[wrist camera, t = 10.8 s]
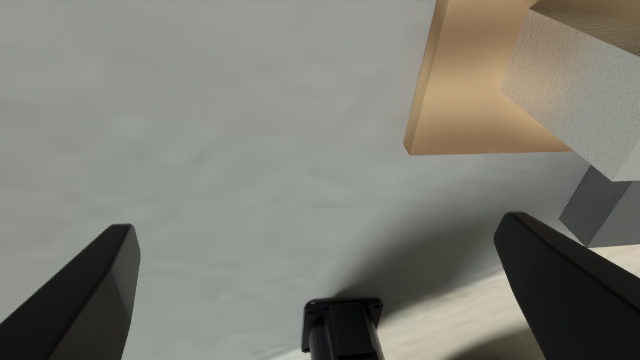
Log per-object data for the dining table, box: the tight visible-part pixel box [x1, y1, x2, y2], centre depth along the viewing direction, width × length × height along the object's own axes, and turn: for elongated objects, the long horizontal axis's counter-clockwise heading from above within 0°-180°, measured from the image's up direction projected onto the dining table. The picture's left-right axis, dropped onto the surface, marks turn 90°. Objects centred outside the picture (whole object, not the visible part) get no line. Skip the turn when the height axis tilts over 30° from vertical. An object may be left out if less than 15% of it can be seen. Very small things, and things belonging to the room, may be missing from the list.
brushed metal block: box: [498, 9, 640, 181], centre depth 16 cm, size 4×4×8 cm
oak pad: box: [403, 0, 640, 155], centre depth 20 cm, size 12×12×1 cm
